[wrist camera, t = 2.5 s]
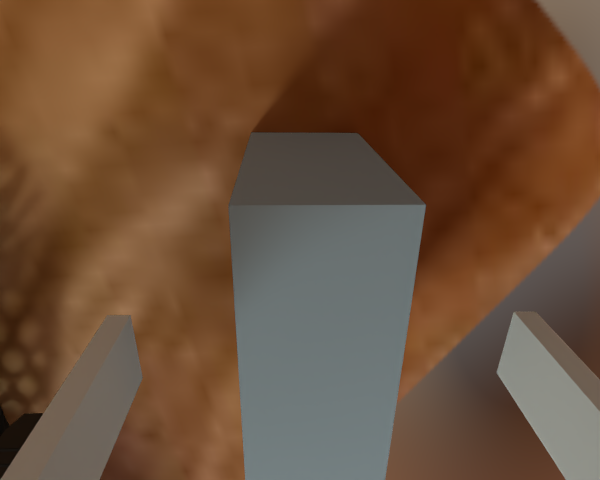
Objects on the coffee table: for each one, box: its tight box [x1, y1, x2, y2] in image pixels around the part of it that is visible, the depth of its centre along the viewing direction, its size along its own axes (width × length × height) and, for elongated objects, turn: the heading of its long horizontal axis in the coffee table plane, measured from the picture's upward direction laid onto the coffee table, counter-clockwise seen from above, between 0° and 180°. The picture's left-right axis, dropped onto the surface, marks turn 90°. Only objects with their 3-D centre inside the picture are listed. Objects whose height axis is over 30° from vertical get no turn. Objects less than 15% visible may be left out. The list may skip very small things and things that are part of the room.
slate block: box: [229, 132, 426, 480], centre depth 17 cm, size 12×5×10 cm, turn 179°
